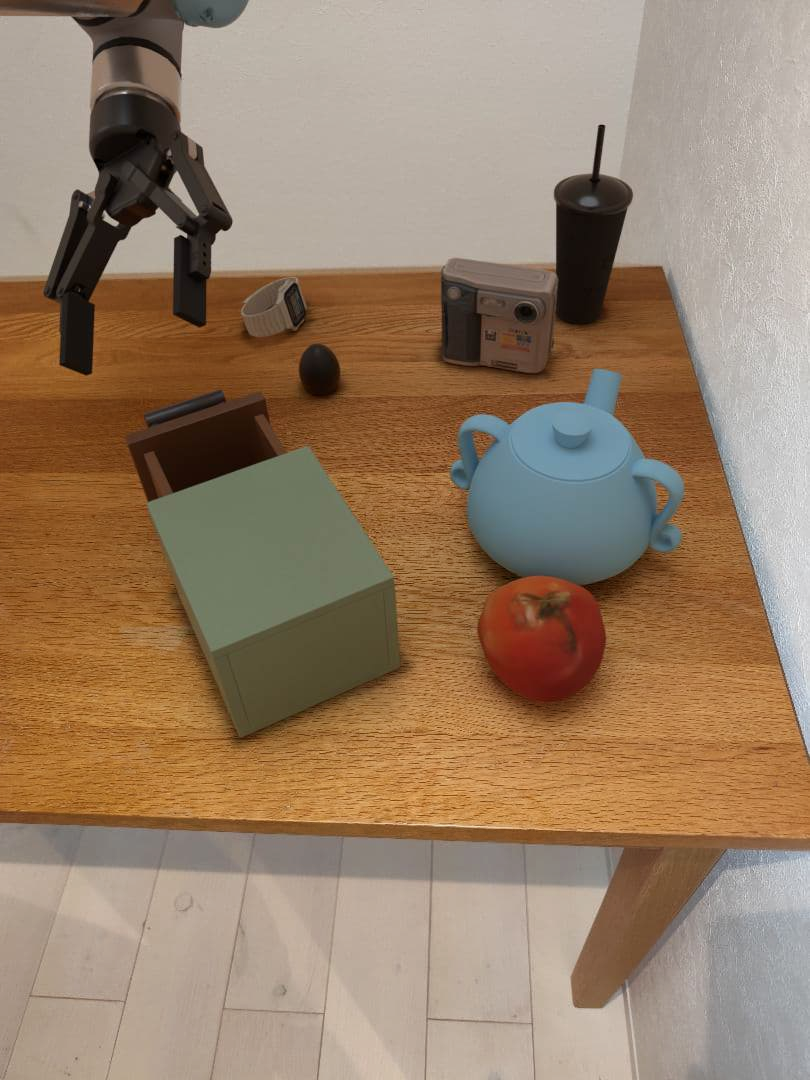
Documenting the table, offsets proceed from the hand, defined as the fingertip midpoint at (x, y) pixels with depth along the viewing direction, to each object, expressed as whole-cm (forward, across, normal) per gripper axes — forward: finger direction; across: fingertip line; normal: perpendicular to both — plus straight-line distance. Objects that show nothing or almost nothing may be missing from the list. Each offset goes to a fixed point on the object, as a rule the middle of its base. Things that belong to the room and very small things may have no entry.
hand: (129, 346), depth 72 cm
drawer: (+13, -1, -11) cm, 16 cm away
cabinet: (+23, -8, -10) cm, 26 cm away
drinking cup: (-13, -22, -42) cm, 49 cm away
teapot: (+14, -25, -27) cm, 39 cm away
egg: (-4, -2, -23) cm, 23 cm away
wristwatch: (-14, +6, -24) cm, 29 cm away
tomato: (+27, -25, -18) cm, 41 cm away
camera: (-7, -16, -34) cm, 38 cm away
